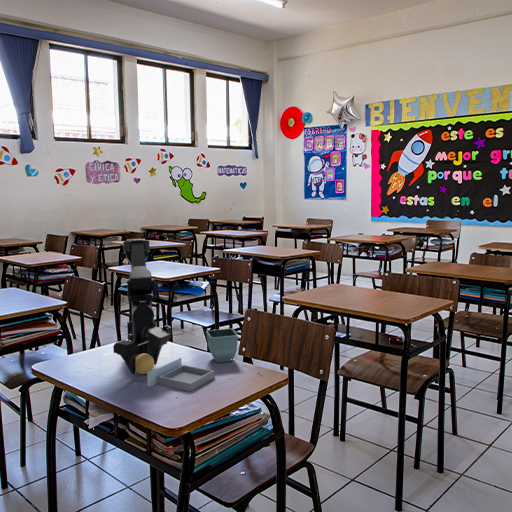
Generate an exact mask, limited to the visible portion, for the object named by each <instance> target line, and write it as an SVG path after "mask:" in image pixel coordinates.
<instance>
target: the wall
mask: <svg viewBox="0 0 512 512" xmlns="http://www.w3.org/2000/svg"><path fill="white" fill-rule="evenodd" d="M181 365H183V362H182V357H176V358H175V359H172V360H169V361H168V362H165V363H164V364H161V365H159V366H157V367H153V369H152V370H150V371H148V372H147V374H146V375H147V379H146V380H147V387H152V386H154V385H156V384H158V377H159V376H161V375H163V374H165V373H167V372H169V371H171V370H173V369H175V368H177V367H179V366H181Z"/></svg>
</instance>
